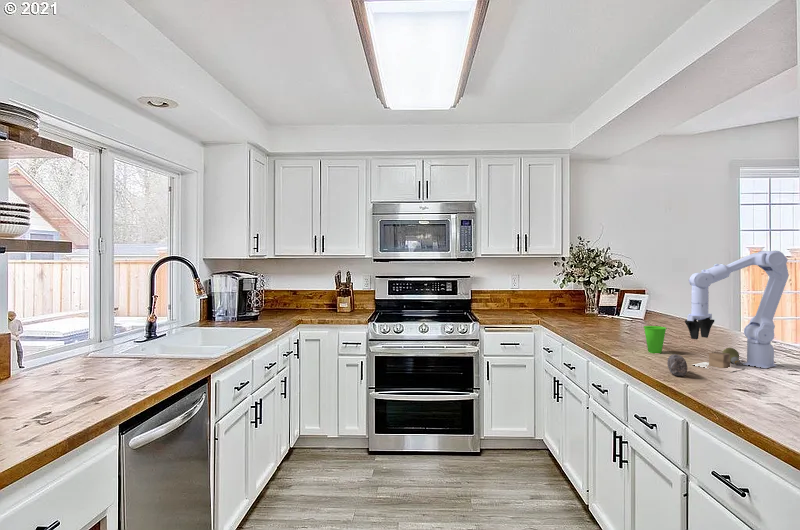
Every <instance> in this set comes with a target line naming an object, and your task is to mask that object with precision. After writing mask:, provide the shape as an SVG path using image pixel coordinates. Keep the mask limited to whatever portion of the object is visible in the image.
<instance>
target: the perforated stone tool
mask: <svg viewBox="0 0 800 530" xmlns="http://www.w3.org/2000/svg"><path fill="white" fill-rule="evenodd" d="M666 362H667V368H668V370H669V372H670V373H671V374H672V375H673V376H677V377H684V376H686V375H687V373H688V368H689V367H688V364H687V363H688V362H687V360H686V359H685V358H684V357H683V356H681V355H680V354H673V353H672V354H670V355H669V356H668V359H667V361H666Z"/></svg>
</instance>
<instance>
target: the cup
mask: <svg viewBox="0 0 800 530" xmlns="http://www.w3.org/2000/svg"><path fill="white" fill-rule="evenodd" d="M643 329H644V335H645V341H646V347H647V351H648V353H649V352H650V354H655V353H660V354H662V351H663V347H664V342H665V336H666V330H667V327H665V326H657V325H644V326H643Z"/></svg>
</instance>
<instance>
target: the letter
mask: <svg viewBox="0 0 800 530" xmlns="http://www.w3.org/2000/svg"><path fill="white" fill-rule="evenodd" d="M692 365H695V366H694V367H698V366H700V367H699V368H703V367H705V369H708V368H707V366H708V365H709V361H708V362H706V361H703V362H699V363H694V364H692ZM706 365H707V366H706Z"/></svg>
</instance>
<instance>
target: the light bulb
mask: <svg viewBox="0 0 800 530" xmlns="http://www.w3.org/2000/svg"><path fill="white" fill-rule="evenodd" d="M721 353H728V354H730V363H732V364H733V365H734V366H738V365H740V364H741V360H740V359H739V358H740V353H739V351H738V350H737V349H735V348H733V347H726V348H724V349H723V350H722V351H721Z"/></svg>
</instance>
